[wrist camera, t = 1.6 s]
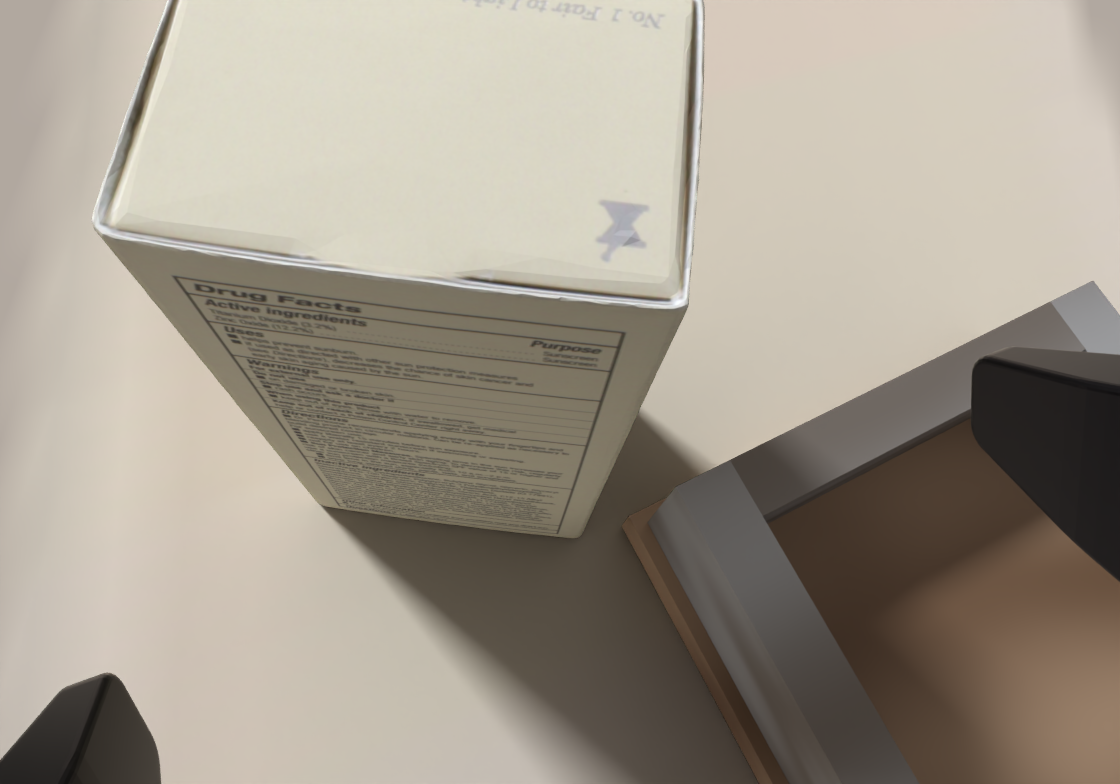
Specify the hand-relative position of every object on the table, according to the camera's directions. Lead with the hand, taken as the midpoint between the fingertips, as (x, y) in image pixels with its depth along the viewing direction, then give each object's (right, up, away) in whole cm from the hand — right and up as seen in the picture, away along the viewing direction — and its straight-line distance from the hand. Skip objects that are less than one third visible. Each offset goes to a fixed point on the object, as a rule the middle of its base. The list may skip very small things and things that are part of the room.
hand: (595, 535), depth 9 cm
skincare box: (-3, 0, +12) cm, 13 cm away
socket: (+8, -4, +11) cm, 15 cm away
